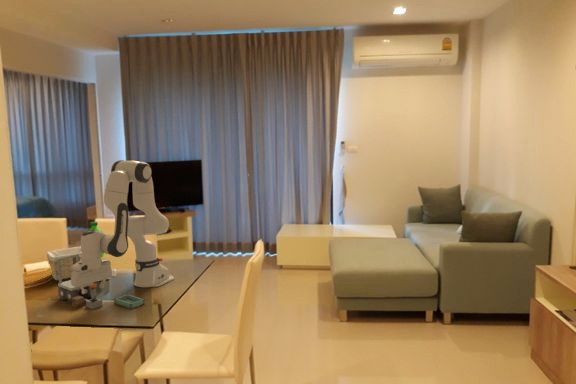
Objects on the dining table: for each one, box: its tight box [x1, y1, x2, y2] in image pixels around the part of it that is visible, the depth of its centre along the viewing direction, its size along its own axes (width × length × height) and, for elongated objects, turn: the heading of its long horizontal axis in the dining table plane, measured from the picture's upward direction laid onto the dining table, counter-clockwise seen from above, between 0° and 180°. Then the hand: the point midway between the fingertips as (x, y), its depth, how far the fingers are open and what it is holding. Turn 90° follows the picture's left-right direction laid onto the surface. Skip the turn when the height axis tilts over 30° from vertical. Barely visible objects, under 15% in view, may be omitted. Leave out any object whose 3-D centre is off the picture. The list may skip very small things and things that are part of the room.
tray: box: [114, 293, 145, 310], centre depth 239 cm, size 8×13×2 cm, turn 55°
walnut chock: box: [71, 295, 85, 309], centre depth 236 cm, size 4×4×4 cm
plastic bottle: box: [89, 221, 105, 259], centre depth 314 cm, size 10×10×25 cm
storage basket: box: [46, 245, 82, 281], centre depth 285 cm, size 24×16×15 cm
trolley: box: [57, 254, 103, 310], centre depth 242 cm, size 12×27×21 cm, turn 55°
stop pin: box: [89, 283, 98, 302], centre depth 236 cm, size 3×3×11 cm
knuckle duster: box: [106, 268, 117, 281], centre depth 281 cm, size 3×18×15 cm
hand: (93, 290), depth 234 cm, fingers open, 8 cm apart
